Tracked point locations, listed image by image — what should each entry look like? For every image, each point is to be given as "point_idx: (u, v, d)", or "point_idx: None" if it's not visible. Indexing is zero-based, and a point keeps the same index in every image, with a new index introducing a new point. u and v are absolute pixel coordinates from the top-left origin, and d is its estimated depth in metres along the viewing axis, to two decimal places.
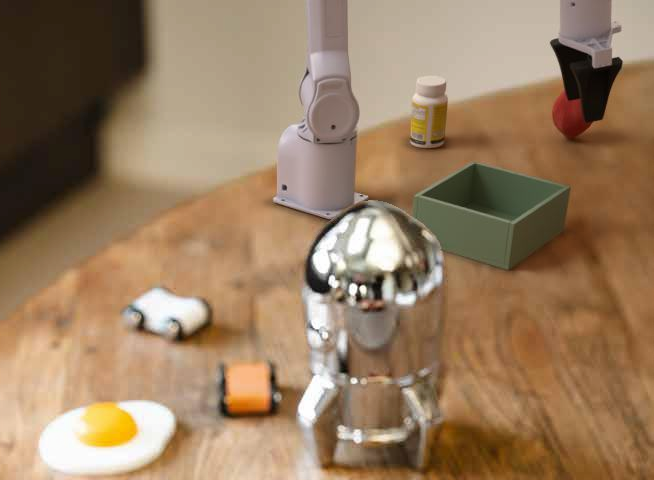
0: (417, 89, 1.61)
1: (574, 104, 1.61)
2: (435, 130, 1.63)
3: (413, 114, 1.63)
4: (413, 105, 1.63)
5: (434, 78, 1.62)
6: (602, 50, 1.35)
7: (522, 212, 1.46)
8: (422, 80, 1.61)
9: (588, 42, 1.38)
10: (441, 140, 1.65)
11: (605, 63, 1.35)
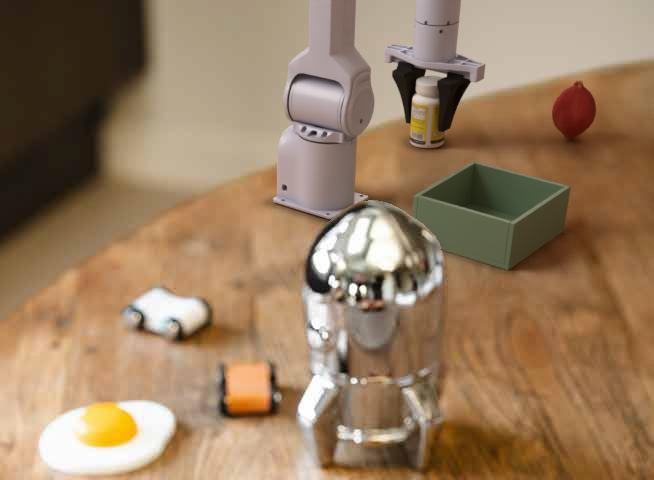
0: (417, 89, 1.61)
1: (574, 104, 1.61)
2: (434, 130, 1.63)
3: (413, 114, 1.63)
4: (413, 105, 1.63)
5: (433, 78, 1.62)
6: (481, 66, 1.55)
7: (522, 212, 1.46)
8: (422, 80, 1.61)
9: (451, 63, 1.57)
10: (441, 140, 1.65)
11: (481, 77, 1.57)
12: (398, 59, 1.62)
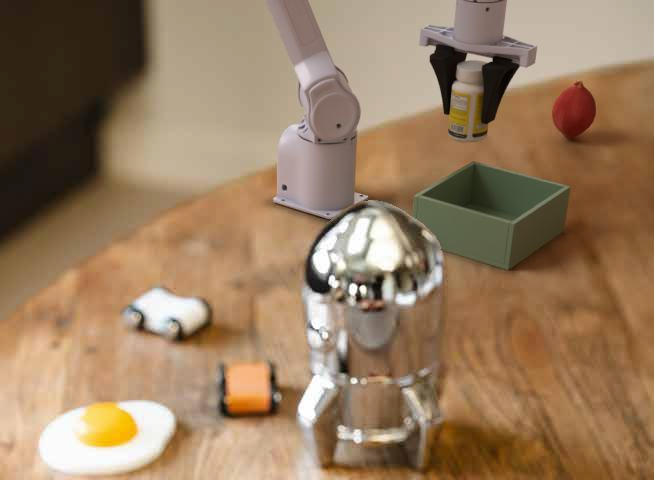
0: (458, 75, 1.43)
1: (574, 104, 1.61)
2: (477, 122, 1.45)
3: (453, 104, 1.45)
4: (453, 94, 1.44)
5: (476, 63, 1.43)
6: (532, 49, 1.37)
7: (522, 212, 1.46)
8: (463, 65, 1.42)
9: (498, 46, 1.39)
10: (484, 133, 1.46)
11: (532, 62, 1.38)
12: (436, 42, 1.44)
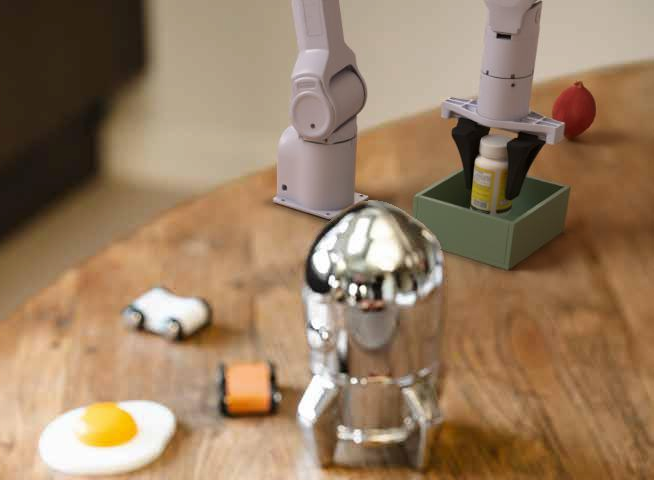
0: (481, 150, 1.36)
1: (574, 104, 1.61)
2: (501, 198, 1.38)
3: (476, 179, 1.38)
4: (476, 169, 1.38)
5: (501, 137, 1.37)
6: (560, 126, 1.31)
7: (522, 212, 1.46)
8: (487, 140, 1.36)
9: (524, 122, 1.33)
10: (508, 209, 1.40)
11: (560, 139, 1.32)
12: (458, 115, 1.37)
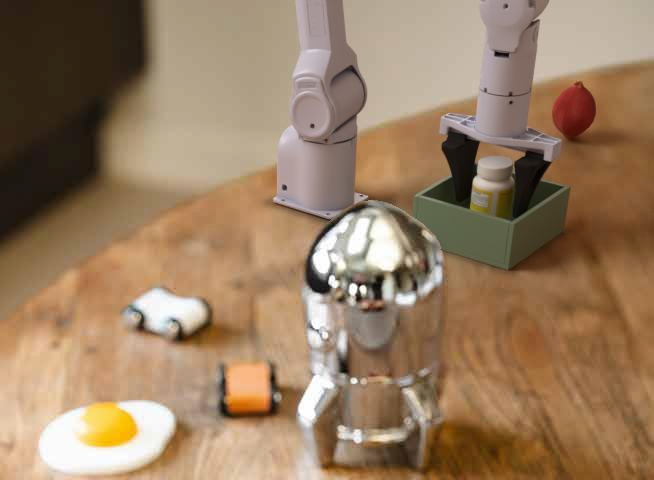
0: (479, 172, 1.38)
1: (574, 104, 1.61)
2: None
3: (473, 200, 1.40)
4: (474, 190, 1.39)
5: (498, 159, 1.38)
6: (557, 143, 1.32)
7: None
8: (485, 161, 1.38)
9: (522, 138, 1.34)
10: None
11: (557, 155, 1.33)
12: (457, 131, 1.39)
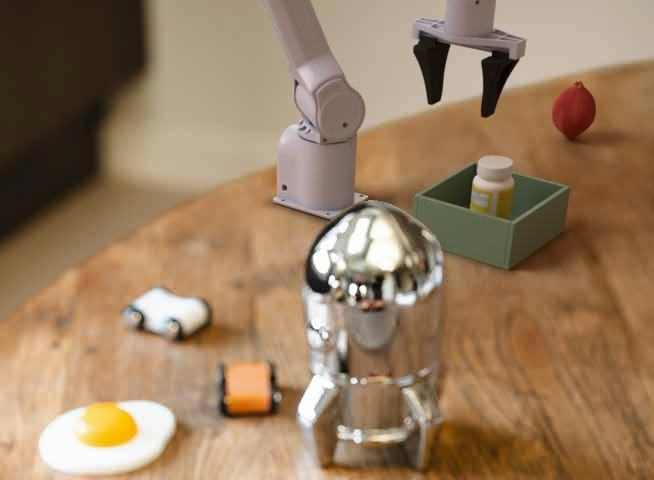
0: (479, 172, 1.38)
1: (574, 104, 1.61)
2: None
3: (473, 200, 1.40)
4: (474, 190, 1.39)
5: (498, 159, 1.38)
6: (521, 41, 1.39)
7: (522, 212, 1.46)
8: (485, 161, 1.38)
9: (488, 38, 1.41)
10: None
11: (522, 54, 1.40)
12: (427, 35, 1.46)
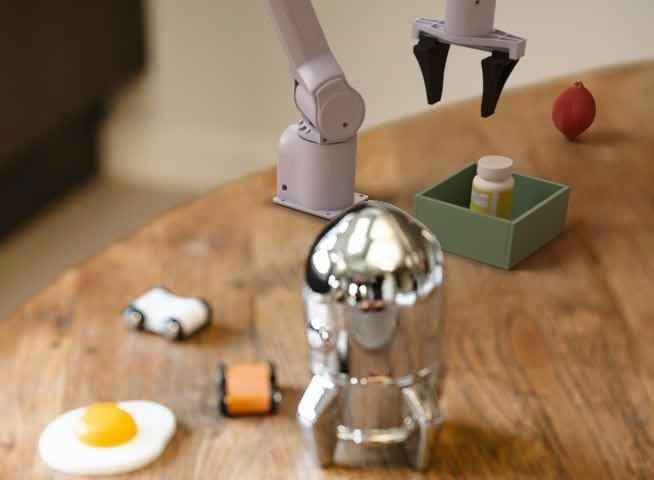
0: (479, 172, 1.38)
1: (574, 104, 1.61)
2: None
3: (473, 200, 1.40)
4: (474, 190, 1.39)
5: (498, 159, 1.38)
6: (521, 41, 1.39)
7: (522, 212, 1.46)
8: (485, 161, 1.38)
9: (488, 38, 1.41)
10: None
11: (521, 54, 1.40)
12: (427, 35, 1.46)
